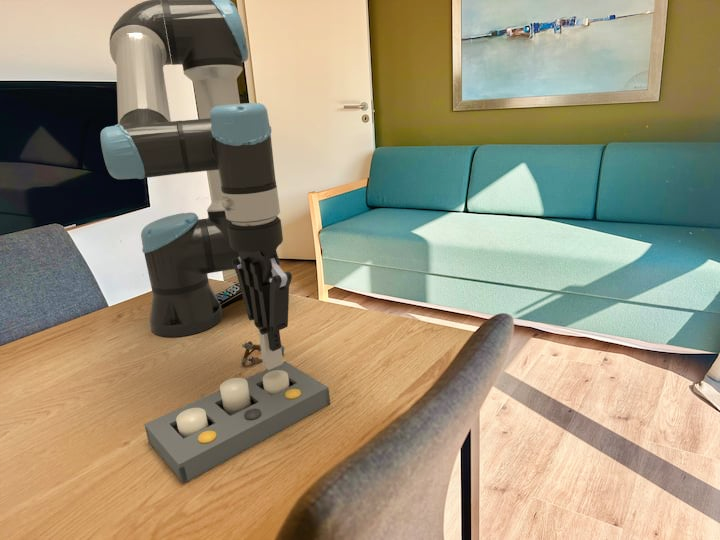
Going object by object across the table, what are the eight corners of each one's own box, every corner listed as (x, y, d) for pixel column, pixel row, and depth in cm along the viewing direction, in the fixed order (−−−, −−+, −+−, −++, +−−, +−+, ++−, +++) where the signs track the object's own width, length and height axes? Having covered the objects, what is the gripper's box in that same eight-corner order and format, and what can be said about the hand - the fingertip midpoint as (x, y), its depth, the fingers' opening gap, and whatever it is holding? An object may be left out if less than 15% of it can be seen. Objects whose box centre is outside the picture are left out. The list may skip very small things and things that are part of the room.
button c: (260, 397, 83) (257, 377, 81) (281, 387, 85) (279, 367, 84) (274, 407, 80) (271, 386, 78) (295, 397, 82) (293, 376, 81)
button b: (219, 407, 78) (215, 385, 76) (242, 396, 80) (239, 374, 79) (231, 418, 75) (228, 395, 74) (255, 406, 77) (252, 384, 76)
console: (148, 441, 74) (143, 422, 73) (286, 376, 89) (284, 359, 88) (183, 483, 66) (178, 462, 65) (330, 403, 80) (328, 385, 79)
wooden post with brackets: (235, 362, 93) (241, 339, 93) (274, 365, 98) (281, 343, 98) (239, 366, 92) (245, 342, 91) (278, 369, 97) (285, 346, 96)
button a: (176, 438, 74) (171, 416, 73) (202, 426, 76) (198, 404, 75) (188, 451, 71) (183, 428, 70) (214, 438, 74) (210, 415, 72)
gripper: (207, 217, 75) (231, 359, 83) (254, 232, 66) (275, 391, 74) (252, 207, 80) (271, 343, 88) (302, 220, 70) (317, 370, 78)
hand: (273, 365), depth 81 cm, fingers closed
